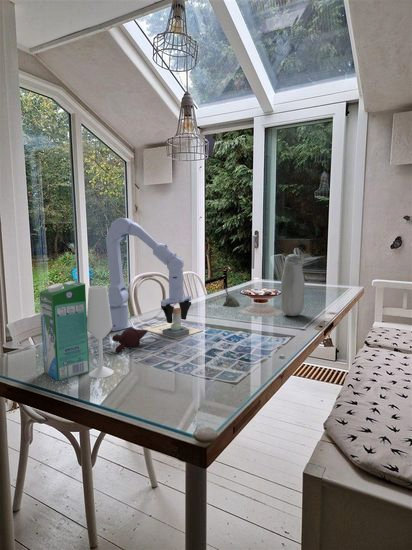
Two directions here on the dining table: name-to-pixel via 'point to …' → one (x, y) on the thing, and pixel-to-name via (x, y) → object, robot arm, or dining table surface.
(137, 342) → the dark red figurine
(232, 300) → the sword in stone
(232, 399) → the dining table surface
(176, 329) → the button
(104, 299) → the champagne flute
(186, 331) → the button housing
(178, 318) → the marker
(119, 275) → the robot arm
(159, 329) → the beige board
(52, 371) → the milk carton
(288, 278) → the grey bottle
